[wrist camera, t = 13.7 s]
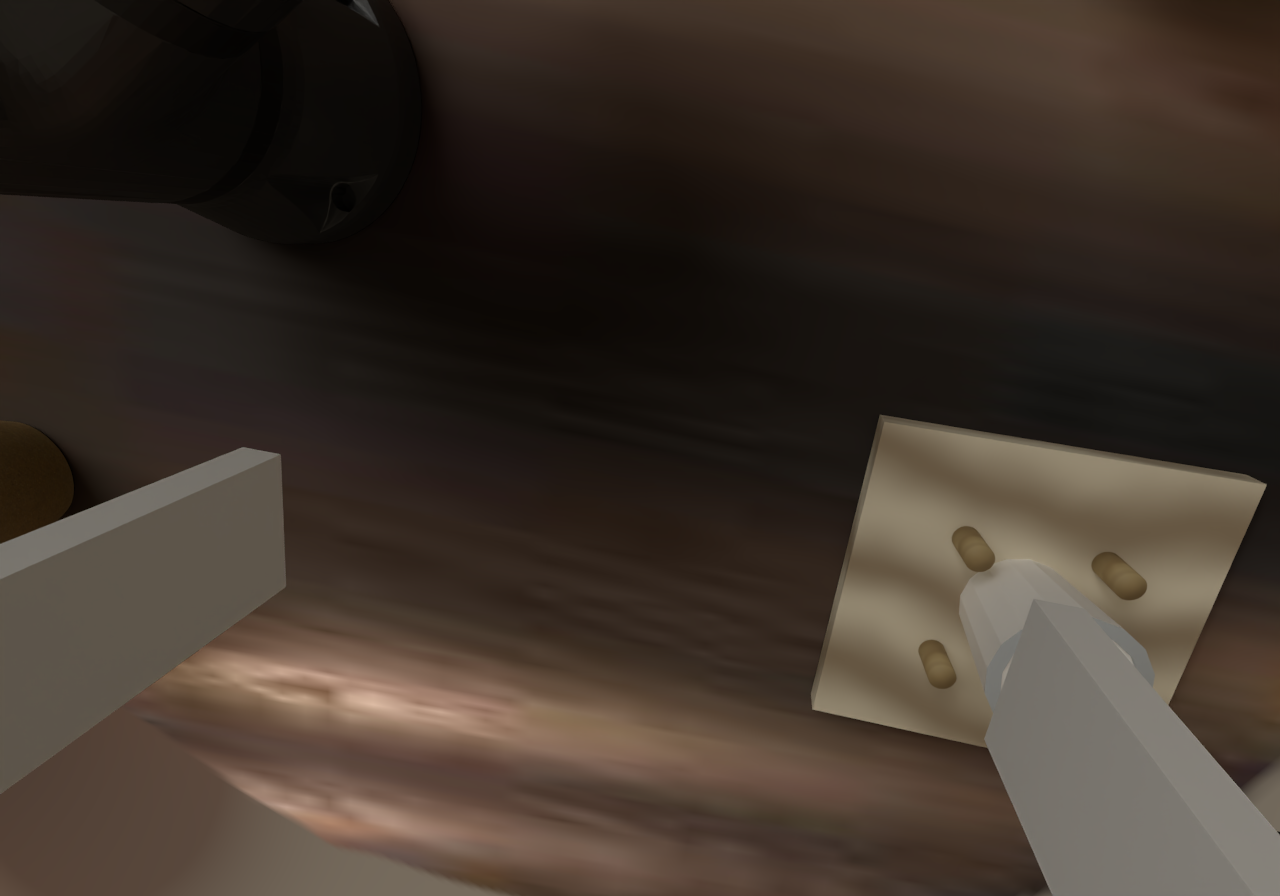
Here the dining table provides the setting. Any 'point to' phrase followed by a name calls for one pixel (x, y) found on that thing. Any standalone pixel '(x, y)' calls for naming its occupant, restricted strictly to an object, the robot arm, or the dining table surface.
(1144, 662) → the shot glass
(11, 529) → the plant pot
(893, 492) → the pin board
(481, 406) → the dining table surface
